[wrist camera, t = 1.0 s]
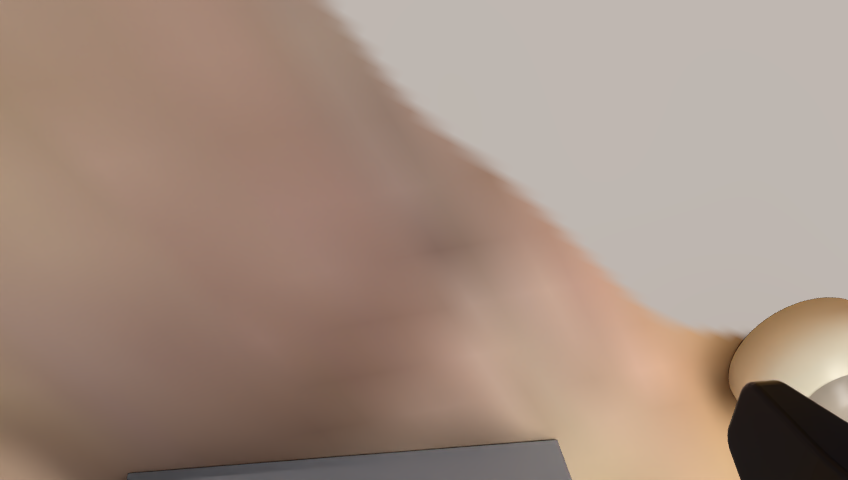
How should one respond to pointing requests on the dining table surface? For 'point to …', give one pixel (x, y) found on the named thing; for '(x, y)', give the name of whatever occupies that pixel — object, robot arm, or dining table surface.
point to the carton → (398, 466)
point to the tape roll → (800, 353)
